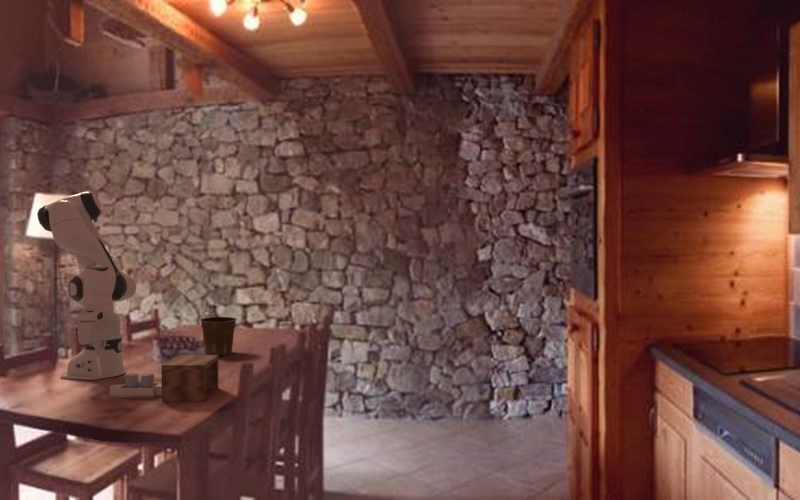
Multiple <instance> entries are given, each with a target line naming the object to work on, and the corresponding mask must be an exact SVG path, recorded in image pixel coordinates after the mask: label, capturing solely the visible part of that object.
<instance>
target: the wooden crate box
mask: <svg viewBox="0 0 800 500" xmlns="http://www.w3.org/2000/svg"><path fill="white" fill-rule="evenodd" d="M219 379H220V377H219V356H218V355H205V354H178V355H177V356H175V357H173V358H172V359H169V360H168V361H166V362H164V363H163V364H161V382H162V396H161V402H205V401H206V400H207V390H218V389H220V388H219V385H220V384H219Z"/></svg>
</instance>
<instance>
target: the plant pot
mask: <svg viewBox="0 0 800 500" xmlns="http://www.w3.org/2000/svg"><path fill="white" fill-rule="evenodd" d="M199 321H200V324H201V326H200V327H201V329H202V338H203V353H205V354H204V355H218V357H223V356H228V355H231V354H232V353H233V344H234V343H233V342H234V336H235V335H234V334H235V328H236V322H237V321H238V320H237V318H236V317H231V316H230V317H229V316H212V317H204V318H201V319H199Z"/></svg>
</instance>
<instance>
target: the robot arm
mask: <svg viewBox="0 0 800 500" xmlns="http://www.w3.org/2000/svg"><path fill="white" fill-rule="evenodd" d="M101 213H102V206H101V202H100V199H99V198H98V197H97V196H96V195H95V194H94V193H93V192H91V191H83V192H79V193H78V194H77V193H76V194H73V195H68V196H66V197H65V196H64V197H63V198H62V199H61V198H60V199H59V200H56V201H54V202H51V203H49V204H45V205H43V206H42V207H40V208H39V209H38V211H37V214H36V215H37V220H38V223H39V225H40V226H41V227H42V228H43V229H44V230H45V231H47V232H50V233H51V234H52V237H53V241H54V242H55V243H56V245H57V246H58V247H59V248H60V249H63V250H64V251H67V252H70V253H74V255H75V258H76V261H77V264H78V266H79V267H80V269H82V270H83V272H82V273H80V274H78V275H75V276H74V277H72V278H71V280H70V281H69V282H68V295H69V297H70V298H71V299H72V300H73V301H74V302H75V303H77V305H79V306H80V307H81V308H82V310H81V311H80V312H78V314H77V315H76V321H77V322H78V324H77V340H78V342H79V344H80V345H82V346H84V349H83V350H81V351H80V352H79V353H77V354H76V355H74V356H73V357H72V358H71V359H69V362H68V364H67V370H66V371H64V372H62V373H61V374H60V378H61V379H69V380H85V381H87V380H89V381H96V380H102V379H107V378H108V379H109V378H112V377H113V378H114V377H117V376H122V375H123V374H125V373H127V372H126V368H125V365H124V361H123V354H122V352H123V337H122V325H121V323H122V322H121V321H122V319H121V317H120V315H118V314H117V313H115V312H114V303H117V302H123V301H125V300H128V299H131V298H133V297H134V295H136V291H137V283H136V281H135V279H134V278H133V277H132V276H130V275H128V274H127V273H125V272H124V271H123V270H121V268H119V267H118V266H117V265H116V263H115V262H114V260H113V258H112V257H111V255H110V252H109V250H108V249H107V247H106V245H105V243H104V240H103V238H102V236H101V234H100V231H99V229H98V227H97V226H96V225H95V223H96V222H98V218H99V217H100V215H101ZM93 222H94V223H93Z"/></svg>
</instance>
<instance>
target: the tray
mask: <svg viewBox="0 0 800 500" xmlns="http://www.w3.org/2000/svg"><path fill="white" fill-rule="evenodd" d="M139 376H140V378H139ZM139 379H140V382H139ZM154 381H155V374H154V373H144V374H141V375H139V374H138V373H129V374H125V383H124V384H123V383H122V384H116V383H115V384H112V385H110V386H109V397H116V398H117V399H154V398H155V397H160V396H161V397H162V381H161V382H160V381H159V382H156V381H155V382H154Z"/></svg>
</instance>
